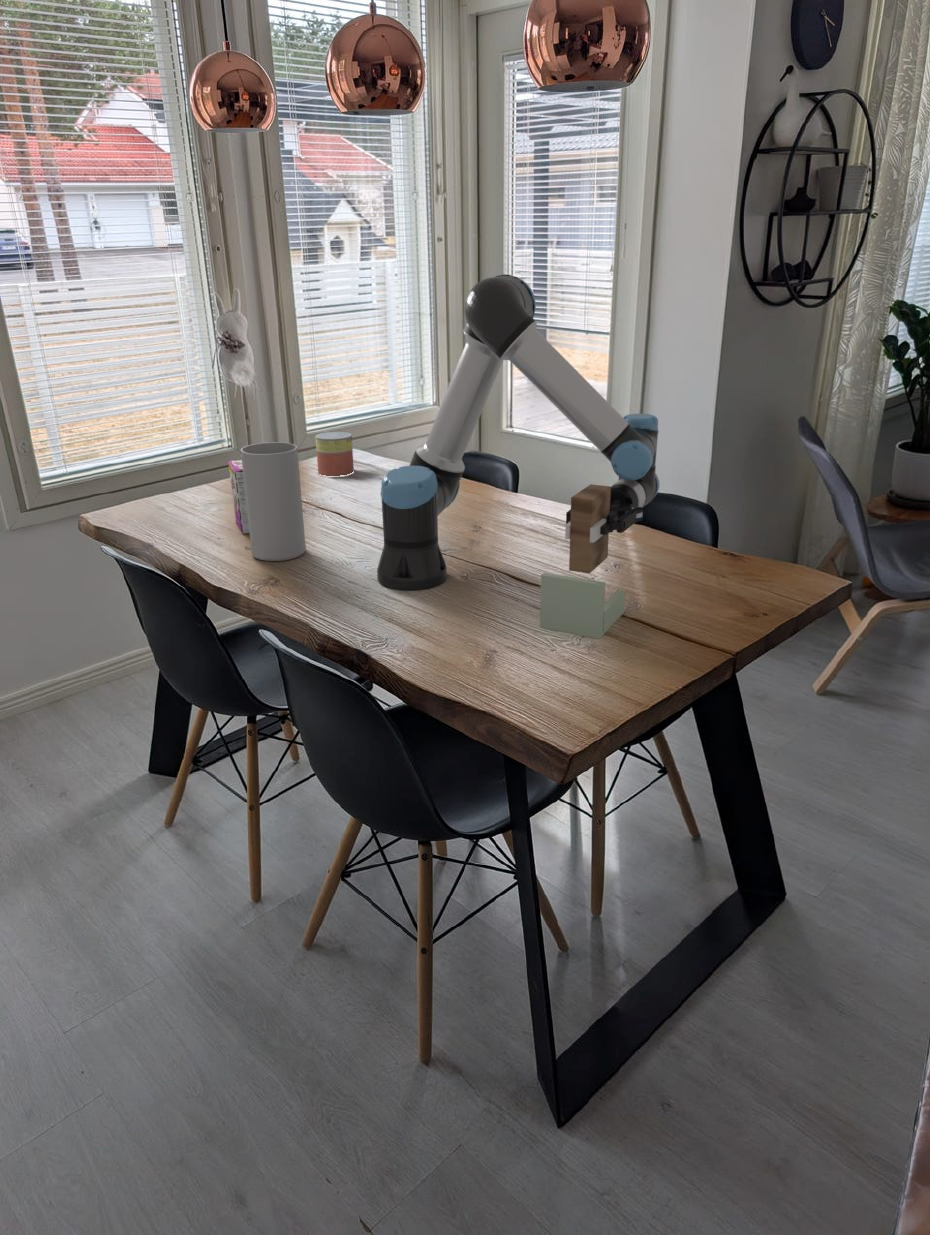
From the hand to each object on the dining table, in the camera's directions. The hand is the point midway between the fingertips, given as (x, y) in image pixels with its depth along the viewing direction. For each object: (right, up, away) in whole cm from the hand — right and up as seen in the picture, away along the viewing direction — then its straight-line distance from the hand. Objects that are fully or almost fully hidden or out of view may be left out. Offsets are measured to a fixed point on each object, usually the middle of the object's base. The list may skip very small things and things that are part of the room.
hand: (579, 533), depth 164 cm
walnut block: (+3, -5, +7) cm, 9 cm away
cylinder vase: (-65, 0, +49) cm, 81 cm away
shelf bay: (+2, -15, +12) cm, 19 cm away
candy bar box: (-77, +8, +68) cm, 103 cm away
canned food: (-61, +30, +120) cm, 138 cm away
